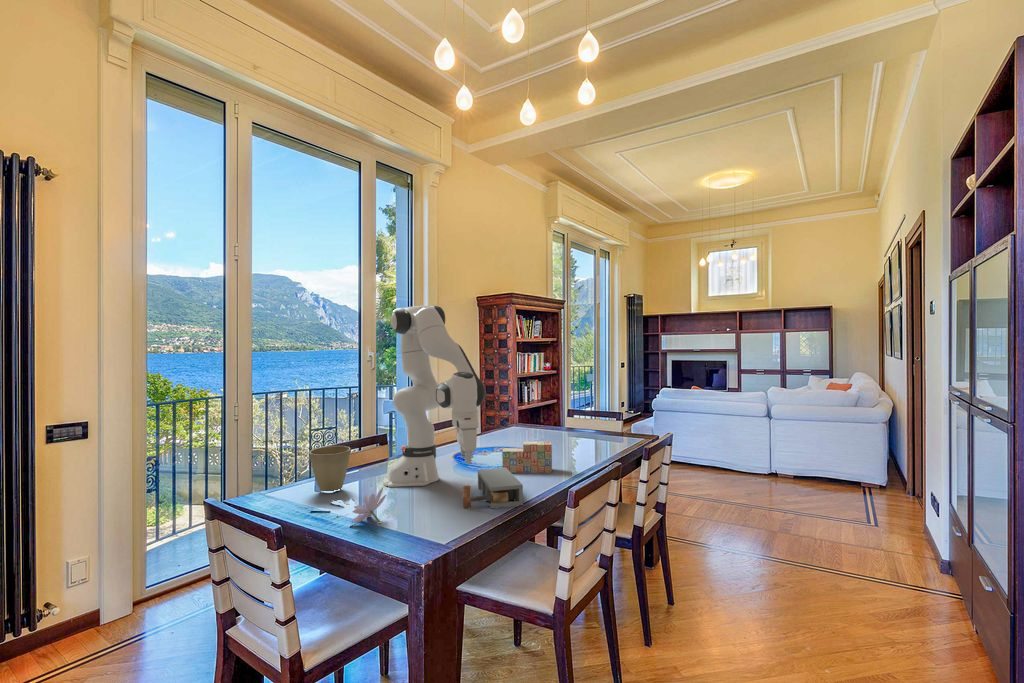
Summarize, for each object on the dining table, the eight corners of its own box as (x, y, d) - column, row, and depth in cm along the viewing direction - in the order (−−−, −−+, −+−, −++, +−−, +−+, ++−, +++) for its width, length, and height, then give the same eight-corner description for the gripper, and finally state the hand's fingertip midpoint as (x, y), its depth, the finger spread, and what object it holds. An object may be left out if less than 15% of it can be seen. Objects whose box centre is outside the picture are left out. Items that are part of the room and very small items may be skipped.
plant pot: (306, 490, 198) (305, 449, 198) (344, 483, 206) (343, 444, 206) (315, 499, 185) (315, 456, 185) (356, 492, 194) (355, 450, 194)
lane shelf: (491, 508, 171) (490, 487, 171) (478, 488, 195) (477, 469, 195) (522, 505, 174) (522, 484, 174) (506, 485, 198) (506, 467, 198)
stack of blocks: (502, 472, 218) (501, 444, 218) (503, 469, 224) (503, 441, 224) (552, 473, 216) (551, 444, 216) (552, 469, 222) (551, 441, 222)
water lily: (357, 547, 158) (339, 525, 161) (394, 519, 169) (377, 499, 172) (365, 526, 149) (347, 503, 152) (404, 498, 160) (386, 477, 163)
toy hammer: (464, 509, 171) (463, 488, 171) (462, 505, 176) (461, 484, 176) (508, 505, 175) (507, 485, 175) (504, 500, 180) (504, 481, 180)
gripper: (452, 416, 183) (453, 454, 183) (460, 424, 163) (461, 467, 163) (469, 415, 185) (470, 453, 184) (479, 423, 165) (480, 466, 165)
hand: (466, 460), depth 174 cm, fingers open, 8 cm apart
